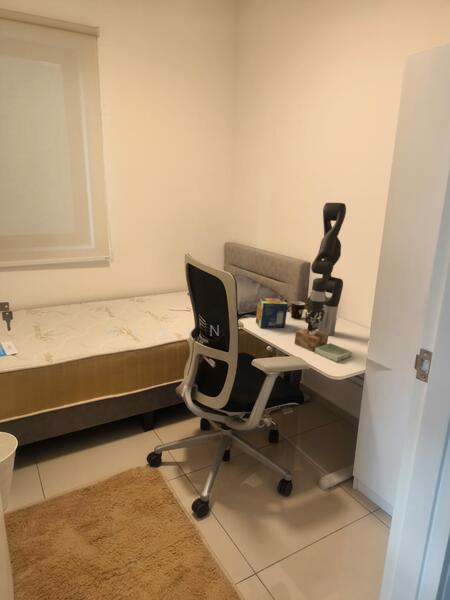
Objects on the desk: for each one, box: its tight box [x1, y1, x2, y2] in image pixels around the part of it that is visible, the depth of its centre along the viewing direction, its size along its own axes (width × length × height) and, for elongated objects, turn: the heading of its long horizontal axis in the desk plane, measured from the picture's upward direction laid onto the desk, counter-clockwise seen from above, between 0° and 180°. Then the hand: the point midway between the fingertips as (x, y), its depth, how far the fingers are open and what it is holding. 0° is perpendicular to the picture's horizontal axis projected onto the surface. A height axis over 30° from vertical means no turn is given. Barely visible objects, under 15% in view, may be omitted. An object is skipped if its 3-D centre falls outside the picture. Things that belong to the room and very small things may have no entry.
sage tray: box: [314, 342, 353, 363], centre depth 196 cm, size 13×13×3 cm
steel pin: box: [309, 321, 319, 335], centre depth 204 cm, size 5×5×13 cm
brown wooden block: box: [294, 327, 329, 353], centre depth 205 cm, size 12×12×7 cm
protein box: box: [255, 297, 289, 329], centre depth 230 cm, size 10×15×16 cm
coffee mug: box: [287, 300, 306, 320], centre depth 250 cm, size 12×9×10 cm
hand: (312, 329), depth 204 cm, fingers closed on steel pin, 5 cm apart
